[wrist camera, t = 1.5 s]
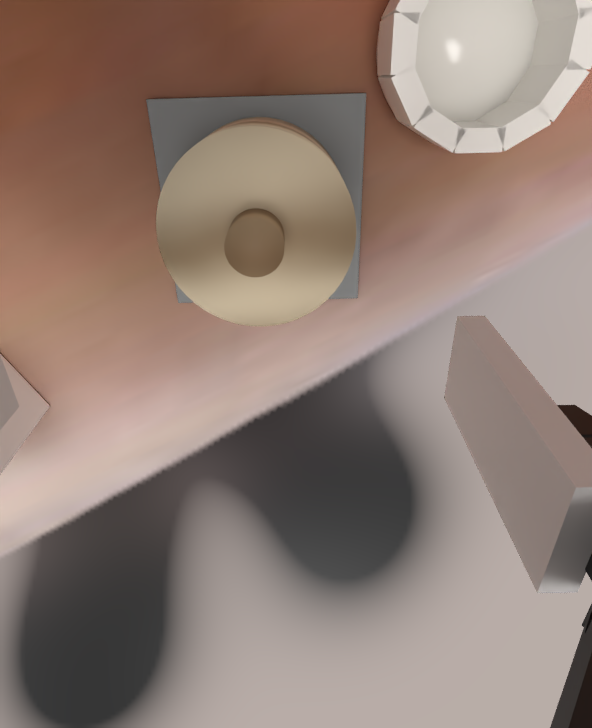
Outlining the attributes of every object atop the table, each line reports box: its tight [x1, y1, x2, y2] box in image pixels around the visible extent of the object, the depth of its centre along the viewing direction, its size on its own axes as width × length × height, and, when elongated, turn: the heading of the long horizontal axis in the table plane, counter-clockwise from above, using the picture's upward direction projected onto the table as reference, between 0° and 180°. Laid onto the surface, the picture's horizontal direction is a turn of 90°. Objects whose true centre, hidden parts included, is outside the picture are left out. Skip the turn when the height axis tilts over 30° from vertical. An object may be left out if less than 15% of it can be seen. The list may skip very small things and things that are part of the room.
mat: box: [146, 93, 366, 303], centre depth 30 cm, size 12×12×1 cm
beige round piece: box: [156, 117, 356, 326], centre depth 26 cm, size 10×10×8 cm
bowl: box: [376, 0, 592, 153], centre depth 24 cm, size 9×9×5 cm
